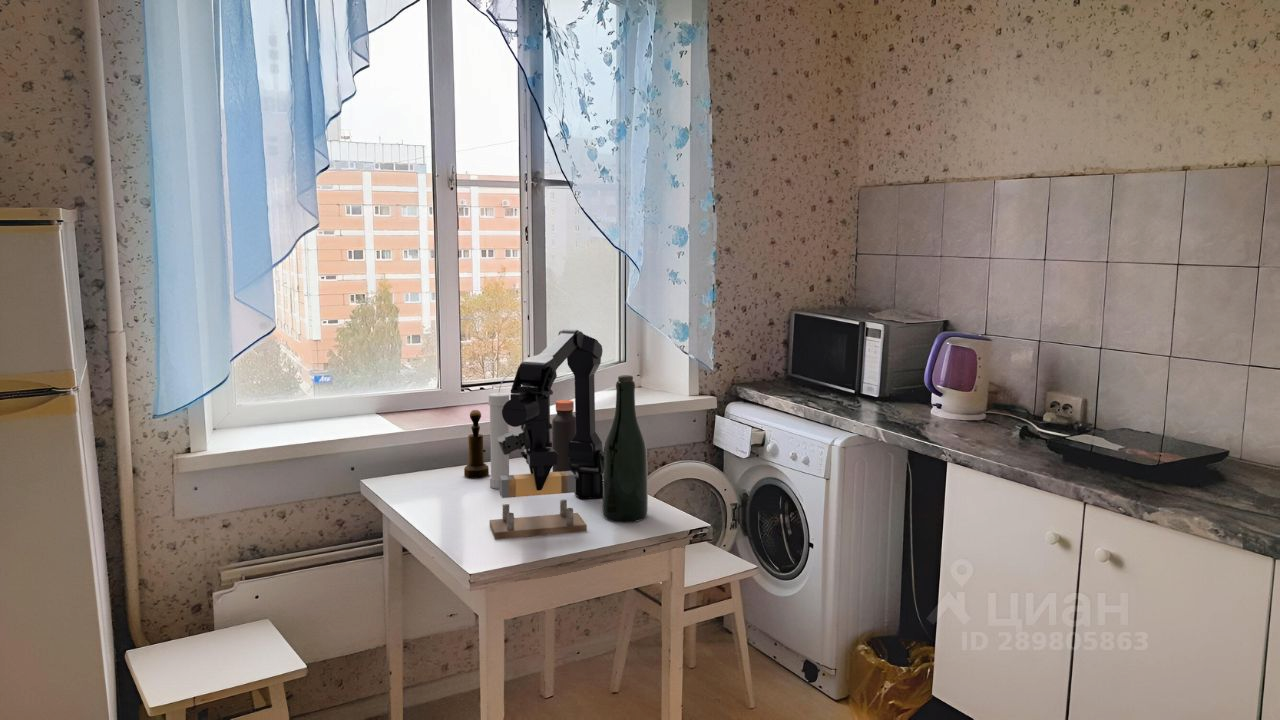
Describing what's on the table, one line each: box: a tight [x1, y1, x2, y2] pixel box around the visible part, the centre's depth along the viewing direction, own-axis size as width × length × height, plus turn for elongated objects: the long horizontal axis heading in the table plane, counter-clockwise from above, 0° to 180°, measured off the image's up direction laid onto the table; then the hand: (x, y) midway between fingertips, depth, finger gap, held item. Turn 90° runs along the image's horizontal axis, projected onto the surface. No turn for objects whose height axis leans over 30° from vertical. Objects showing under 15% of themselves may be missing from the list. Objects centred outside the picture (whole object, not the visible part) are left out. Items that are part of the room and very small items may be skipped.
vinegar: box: [551, 399, 576, 475], centre depth 242 cm, size 7×7×20 cm
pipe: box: [487, 371, 513, 490], centre depth 227 cm, size 6×6×30 cm
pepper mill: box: [463, 409, 490, 479], centre depth 239 cm, size 7×6×18 cm
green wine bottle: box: [602, 374, 649, 523], centre depth 203 cm, size 10×10×33 cm
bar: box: [499, 471, 576, 499], centre depth 194 cm, size 16×4×4 cm, turn 107°
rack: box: [489, 499, 588, 540], centre depth 195 cm, size 20×9×5 cm, turn 107°
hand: (537, 487), depth 194 cm, fingers closed on bar, 4 cm apart
